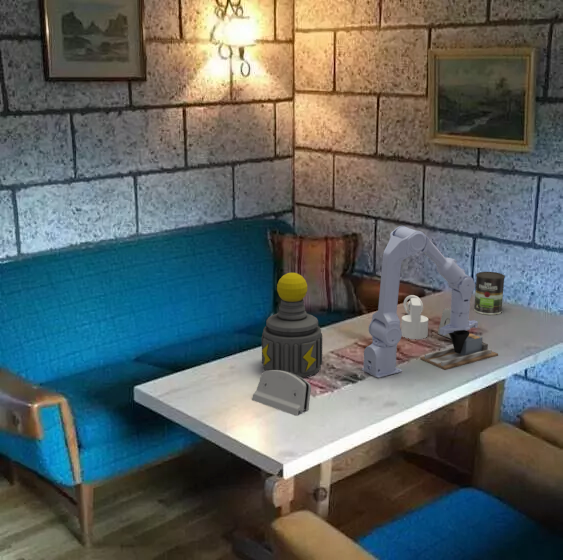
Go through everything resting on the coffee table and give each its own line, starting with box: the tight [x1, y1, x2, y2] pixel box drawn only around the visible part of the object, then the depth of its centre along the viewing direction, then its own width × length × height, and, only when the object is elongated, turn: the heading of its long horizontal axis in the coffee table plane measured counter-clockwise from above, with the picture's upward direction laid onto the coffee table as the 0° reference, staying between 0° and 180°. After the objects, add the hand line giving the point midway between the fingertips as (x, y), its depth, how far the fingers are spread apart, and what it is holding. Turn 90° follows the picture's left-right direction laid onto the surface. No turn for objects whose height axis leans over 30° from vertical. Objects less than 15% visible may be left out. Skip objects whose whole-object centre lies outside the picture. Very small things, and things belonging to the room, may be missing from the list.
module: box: [458, 333, 483, 356], centre depth 249 cm, size 7×4×5 cm, turn 122°
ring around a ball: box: [402, 294, 424, 315], centre depth 289 cm, size 8×6×8 cm
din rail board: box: [419, 341, 499, 371], centre depth 247 cm, size 23×11×4 cm, turn 122°
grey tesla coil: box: [261, 272, 323, 378], centre depth 236 cm, size 19×19×30 cm
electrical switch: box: [437, 307, 452, 340], centre depth 266 cm, size 9×5×9 cm, turn 35°
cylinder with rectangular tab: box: [400, 297, 429, 340], centre depth 267 cm, size 9×9×12 cm
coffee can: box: [473, 271, 506, 316], centre depth 294 cm, size 10×10×14 cm
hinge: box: [251, 370, 312, 416], centre depth 213 cm, size 17×5×10 cm, turn 49°
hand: (457, 352), depth 247 cm, fingers closed
